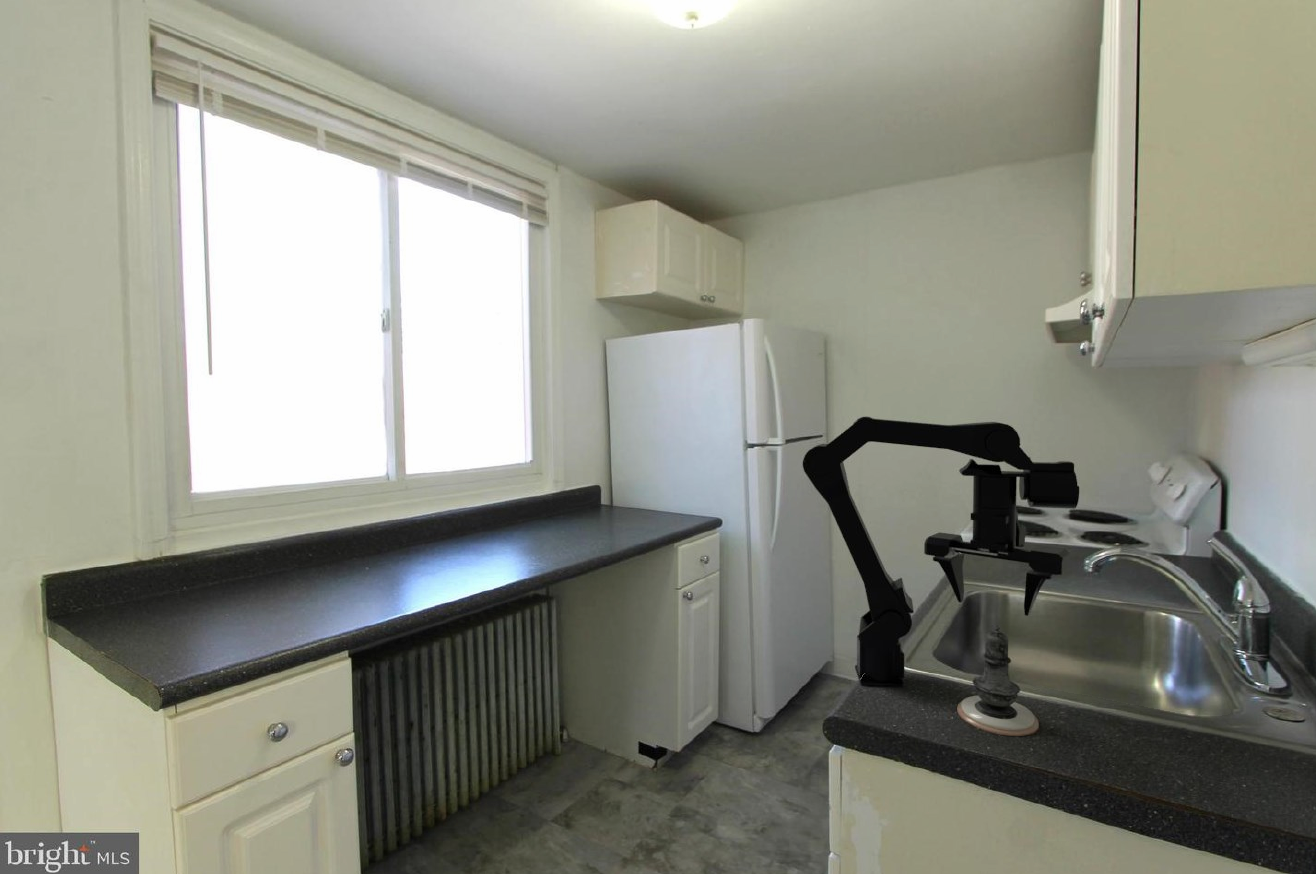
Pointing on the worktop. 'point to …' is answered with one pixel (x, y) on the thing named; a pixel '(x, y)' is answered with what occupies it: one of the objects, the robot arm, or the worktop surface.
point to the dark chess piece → (996, 679)
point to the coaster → (1011, 727)
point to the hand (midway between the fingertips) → (992, 608)
